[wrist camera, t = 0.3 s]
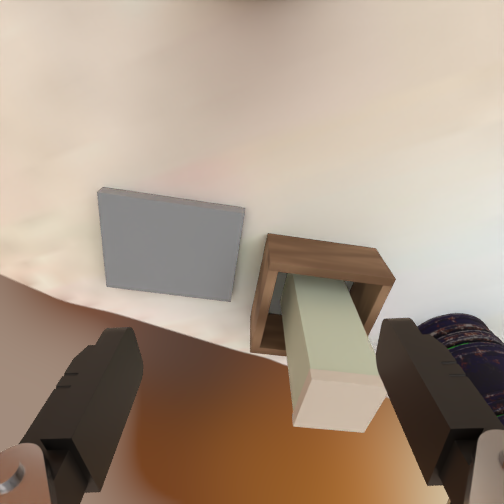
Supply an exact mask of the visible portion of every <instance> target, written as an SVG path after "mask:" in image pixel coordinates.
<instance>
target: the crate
mask: <svg viewBox="0 0 504 504" xmlns="http://www.w3.org/2000/svg"><path fill="white" fill-rule="evenodd" d="M278 272H284V273H291V274H299V275H307V276H314V277H322V278H330V279H337V280H345V281H352V282H354V283H353V285H352V288H351V290H350V296H351V298H352V301H353V303H354V305H355V308H356V310H357V312H358V315H359V317H360V320H361V322H362V324H363V327H364V329H365V332H366V334H367V336H368V335H369V333H370V331H371V329H372V327H373V325H374V323H375V321H376V319H377V317H378V315H379V313H380V311H381V309H382V306H383V304H384V302H385V300H386V298H387V296H388V294H389V292H390V290H391V288H392V286H393V284H394V282H395V280H396V279H395V277H394V276H393V274H392V273H391V271H390V270H389V268H388V266H387V265H386V263H385V262H384V260H383V259H382V257H381V256H380V254H379V253H378V251H377V250H376V248H369V247H362V246H354V245H347V244H340V243H333V242H326V241H319V240H312V239H305V238H298V237H290V236H283V235H276V234H269V233H268V234H267V239H266V244H265V249H264V254H263V259H262V263H261V268H260V273H259V278H258V283H257V287H256V292H255V297H254V302H253V307H252V311H251V316H250V352H251V353H261V354H270V355H279V356H287V354H286V346H285V337H284V329H283V320H282V315H277V314H269V313H268V311H269V307H270V303H271V299H272V295H273V291H274V287H275V283H276V279H277V275H278Z"/></svg>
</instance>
